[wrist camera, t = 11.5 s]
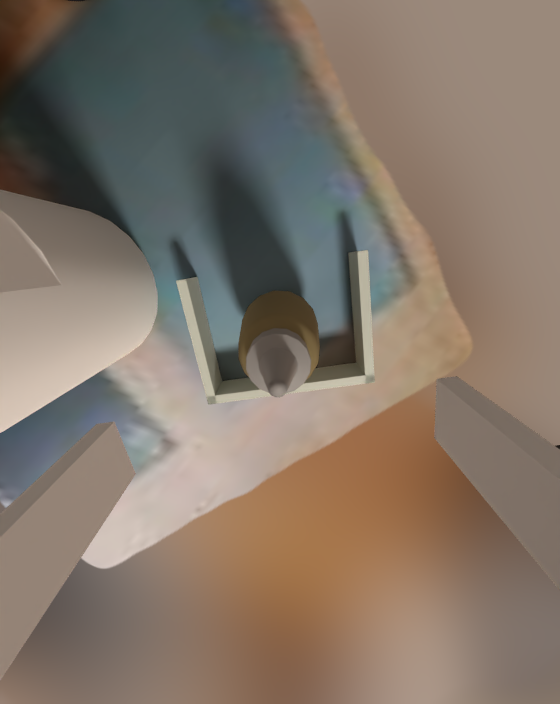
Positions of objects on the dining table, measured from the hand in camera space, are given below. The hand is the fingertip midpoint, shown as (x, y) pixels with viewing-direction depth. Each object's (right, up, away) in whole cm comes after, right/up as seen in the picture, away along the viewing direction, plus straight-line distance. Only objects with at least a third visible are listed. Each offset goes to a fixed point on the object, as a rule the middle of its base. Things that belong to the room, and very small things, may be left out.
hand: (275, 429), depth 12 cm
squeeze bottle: (0, +7, +22) cm, 23 cm away
